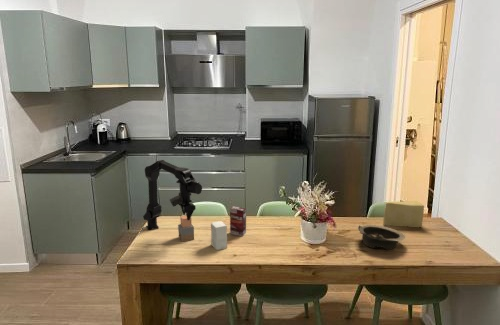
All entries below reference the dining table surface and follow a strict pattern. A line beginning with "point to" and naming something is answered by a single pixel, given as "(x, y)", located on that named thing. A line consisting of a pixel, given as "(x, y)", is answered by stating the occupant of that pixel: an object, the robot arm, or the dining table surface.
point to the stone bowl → (380, 236)
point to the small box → (219, 235)
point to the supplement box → (238, 221)
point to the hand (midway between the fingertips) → (186, 217)
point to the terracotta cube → (185, 221)
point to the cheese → (404, 213)
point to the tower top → (185, 229)
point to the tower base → (186, 237)
